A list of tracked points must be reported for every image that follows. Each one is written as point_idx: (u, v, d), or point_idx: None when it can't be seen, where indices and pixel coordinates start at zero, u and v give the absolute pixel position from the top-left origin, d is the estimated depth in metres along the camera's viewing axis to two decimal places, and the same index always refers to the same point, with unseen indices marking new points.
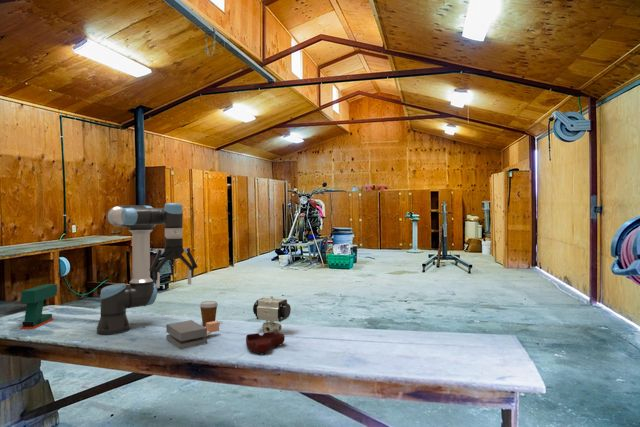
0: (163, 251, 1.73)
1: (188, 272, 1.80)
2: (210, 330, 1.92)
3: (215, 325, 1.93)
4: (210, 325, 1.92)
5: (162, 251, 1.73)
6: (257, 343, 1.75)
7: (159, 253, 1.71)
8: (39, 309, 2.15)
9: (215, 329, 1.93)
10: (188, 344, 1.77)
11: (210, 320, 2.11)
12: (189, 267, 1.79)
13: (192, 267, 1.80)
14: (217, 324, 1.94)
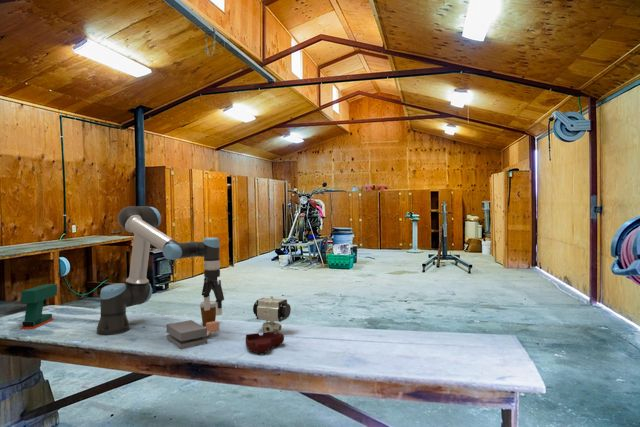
0: None
1: None
2: (210, 330, 1.92)
3: (215, 325, 1.93)
4: (210, 325, 1.92)
5: (207, 279, 1.98)
6: (257, 343, 1.75)
7: (204, 281, 1.99)
8: (39, 309, 2.15)
9: (215, 329, 1.93)
10: (188, 344, 1.77)
11: (210, 320, 2.11)
12: None
13: (217, 299, 1.88)
14: (217, 324, 1.94)
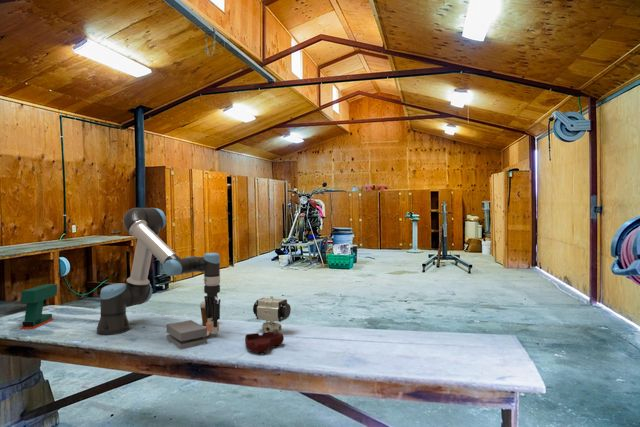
0: (207, 296, 1.98)
1: None
2: (210, 330, 1.92)
3: None
4: (210, 325, 1.92)
5: (207, 296, 1.98)
6: (256, 343, 1.76)
7: (205, 299, 1.98)
8: (39, 309, 2.15)
9: None
10: (188, 344, 1.77)
11: None
12: None
13: (213, 318, 1.91)
14: (217, 324, 1.94)
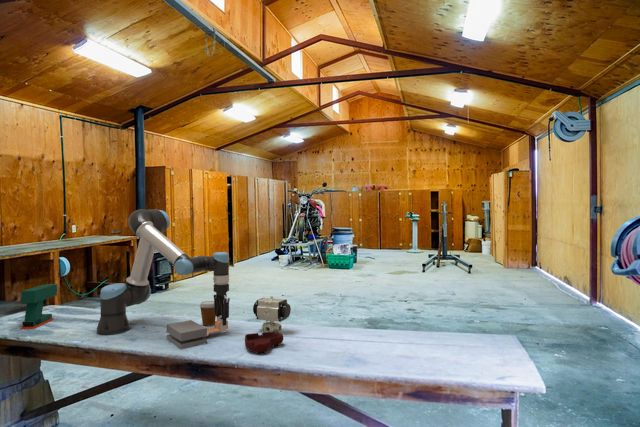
0: None
1: None
2: (219, 328, 1.95)
3: None
4: (219, 323, 1.95)
5: (216, 295, 2.01)
6: (256, 343, 1.76)
7: (214, 298, 2.01)
8: (39, 309, 2.15)
9: None
10: (188, 344, 1.77)
11: (210, 320, 2.11)
12: None
13: (222, 317, 1.94)
14: None
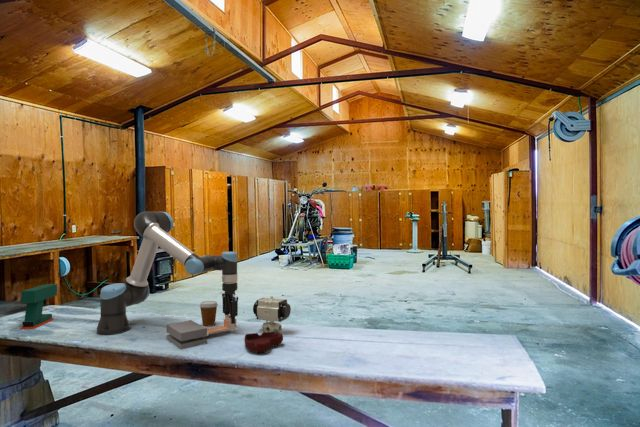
0: (225, 294, 2.04)
1: None
2: (228, 326, 1.98)
3: None
4: (228, 322, 1.98)
5: (224, 294, 2.04)
6: (256, 343, 1.76)
7: (222, 296, 2.04)
8: (39, 309, 2.15)
9: None
10: (188, 344, 1.77)
11: (210, 320, 2.11)
12: None
13: (231, 315, 1.97)
14: (235, 321, 2.00)
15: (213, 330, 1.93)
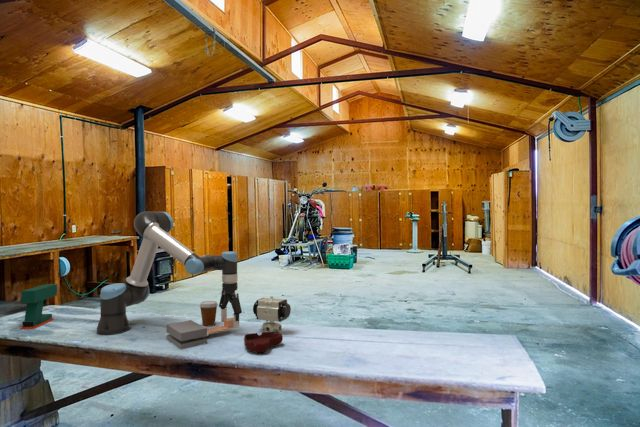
0: (224, 292, 2.04)
1: None
2: (228, 326, 1.98)
3: (233, 322, 2.00)
4: (228, 322, 1.98)
5: (224, 292, 2.04)
6: (255, 343, 1.76)
7: (222, 293, 2.05)
8: (39, 309, 2.15)
9: (233, 325, 2.00)
10: (188, 344, 1.77)
11: (210, 320, 2.11)
12: (234, 311, 1.95)
13: (235, 312, 1.94)
14: None
15: (213, 330, 1.93)
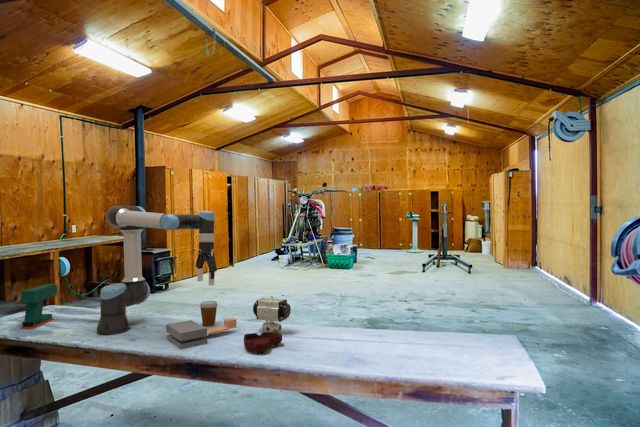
0: None
1: None
2: (228, 326, 1.98)
3: (233, 322, 2.00)
4: (228, 322, 1.98)
5: None
6: (255, 343, 1.76)
7: (198, 253, 2.06)
8: (39, 309, 2.15)
9: (233, 325, 2.00)
10: (188, 344, 1.77)
11: (210, 320, 2.11)
12: None
13: (210, 270, 1.95)
14: (235, 321, 2.00)
15: (213, 330, 1.93)
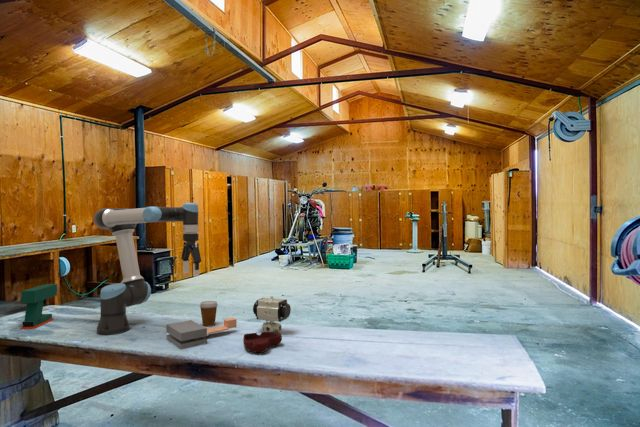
0: None
1: None
2: (228, 326, 1.98)
3: (233, 322, 2.00)
4: (228, 322, 1.98)
5: None
6: (254, 343, 1.76)
7: (183, 245, 2.07)
8: (39, 309, 2.15)
9: (233, 325, 2.00)
10: (188, 344, 1.77)
11: (210, 320, 2.11)
12: (194, 260, 1.97)
13: (194, 261, 1.96)
14: (235, 321, 2.00)
15: (213, 330, 1.93)
